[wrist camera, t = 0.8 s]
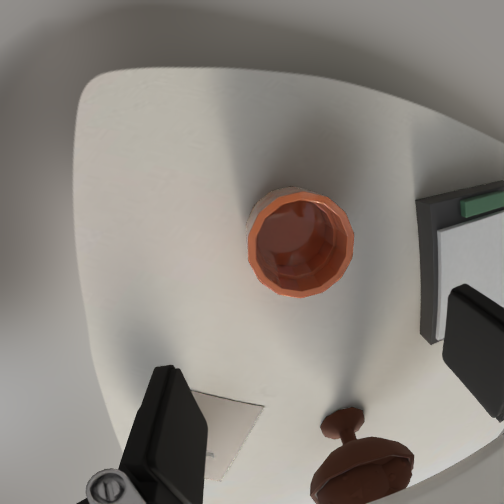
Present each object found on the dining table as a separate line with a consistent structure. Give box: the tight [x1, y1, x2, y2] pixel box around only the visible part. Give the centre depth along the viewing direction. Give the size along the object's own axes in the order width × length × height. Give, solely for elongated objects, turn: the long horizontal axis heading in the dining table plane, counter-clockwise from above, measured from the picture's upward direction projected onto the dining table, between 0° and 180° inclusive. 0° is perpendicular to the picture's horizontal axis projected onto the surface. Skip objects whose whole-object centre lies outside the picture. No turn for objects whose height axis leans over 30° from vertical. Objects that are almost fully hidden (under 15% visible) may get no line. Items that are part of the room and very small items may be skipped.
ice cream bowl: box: [310, 407, 414, 504], centre depth 23 cm, size 11×11×15 cm
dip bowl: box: [246, 186, 354, 298], centre depth 21 cm, size 7×7×5 cm
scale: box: [415, 180, 504, 345], centre depth 23 cm, size 14×13×3 cm
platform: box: [191, 391, 264, 482], centre depth 27 cm, size 12×18×7 cm, turn 161°
